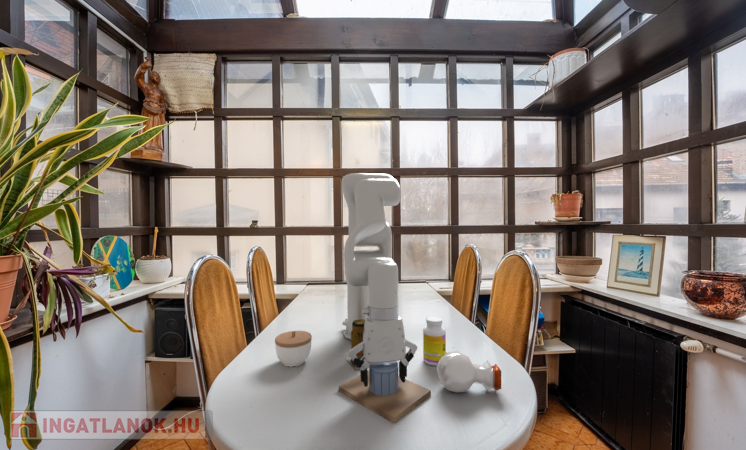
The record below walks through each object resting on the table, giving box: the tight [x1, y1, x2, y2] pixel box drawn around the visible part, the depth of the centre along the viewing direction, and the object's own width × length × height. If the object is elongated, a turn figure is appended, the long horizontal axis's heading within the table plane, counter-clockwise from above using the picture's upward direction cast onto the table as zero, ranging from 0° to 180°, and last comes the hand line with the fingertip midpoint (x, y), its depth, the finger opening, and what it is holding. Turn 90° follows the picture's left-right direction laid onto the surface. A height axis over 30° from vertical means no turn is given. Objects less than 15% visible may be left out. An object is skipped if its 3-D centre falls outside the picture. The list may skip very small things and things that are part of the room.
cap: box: [368, 361, 399, 396], centre depth 75 cm, size 7×7×6 cm
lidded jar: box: [274, 330, 312, 368], centre depth 92 cm, size 11×11×9 cm
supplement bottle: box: [422, 316, 447, 367], centre depth 92 cm, size 7×7×13 cm
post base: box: [337, 370, 432, 423], centre depth 75 cm, size 18×14×6 cm
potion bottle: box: [436, 350, 502, 394], centre depth 76 cm, size 9×10×15 cm
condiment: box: [345, 319, 370, 371], centre depth 92 cm, size 7×8×12 cm
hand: (383, 381), depth 75 cm, fingers open, 9 cm apart
